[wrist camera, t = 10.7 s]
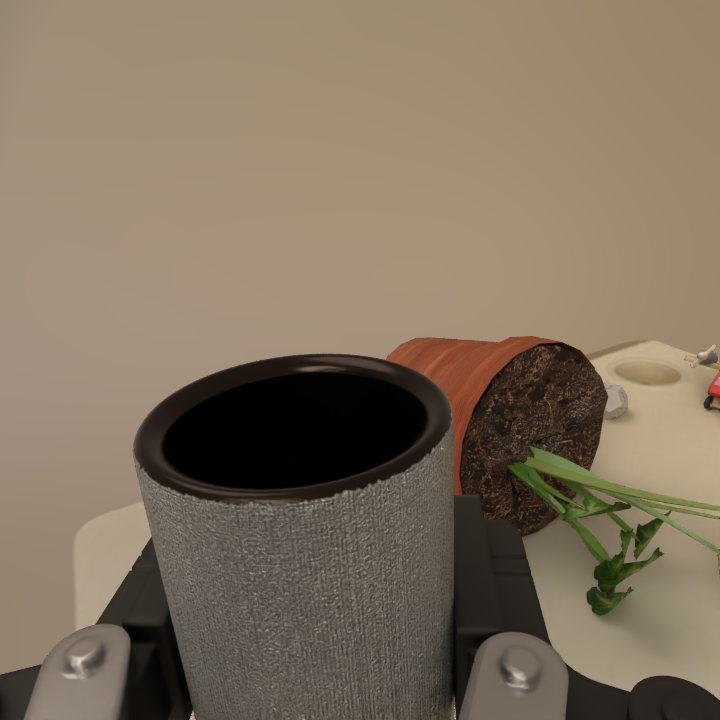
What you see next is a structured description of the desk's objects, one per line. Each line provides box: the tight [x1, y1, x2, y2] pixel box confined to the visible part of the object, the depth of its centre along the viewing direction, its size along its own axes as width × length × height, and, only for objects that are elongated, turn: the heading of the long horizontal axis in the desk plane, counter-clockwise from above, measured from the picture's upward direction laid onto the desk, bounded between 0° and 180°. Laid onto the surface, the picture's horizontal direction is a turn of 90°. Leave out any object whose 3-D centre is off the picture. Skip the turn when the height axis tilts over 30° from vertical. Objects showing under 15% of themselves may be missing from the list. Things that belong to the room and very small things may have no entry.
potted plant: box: [386, 336, 720, 616], centre depth 36 cm, size 16×15×35 cm
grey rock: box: [603, 382, 628, 420], centre depth 56 cm, size 4×4×3 cm
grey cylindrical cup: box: [133, 354, 454, 720], centre depth 10 cm, size 4×4×10 cm
